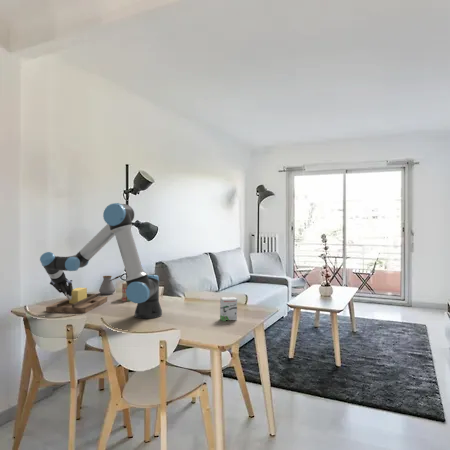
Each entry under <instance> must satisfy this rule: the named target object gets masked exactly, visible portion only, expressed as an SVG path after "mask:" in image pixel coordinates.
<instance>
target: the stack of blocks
mask: <svg viewBox="0 0 450 450" xmlns="http://www.w3.org/2000/svg"><path fill="white" fill-rule="evenodd" d="M121 285H122V288H121V291H122V294H121V295H122V298H121V301H122V302H131V301H130V300H129V299H128V297H127V295H126V289H127V284H126V281H124V282H122V284H121Z"/></svg>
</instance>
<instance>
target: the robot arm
mask: <svg viewBox="0 0 450 450" xmlns="http://www.w3.org/2000/svg"><path fill="white" fill-rule="evenodd" d="M102 217H103V220H104V222H105V223H106V225H105V226H104V227H102V229H101V230H100V231H98V232H97V233H96V234H95V236H93V237H92V239H90V240H89V241H88V243H86V244H85V245H84V246H83V247H82V248H81V249H80V250H79V251H78V252H77V253H76V254H74V255H70V256H58V255H57V256H56V255H55V254H54V252H51V251H45V252H44V253H43V254H41V255H40V257H39V262H40V263H41V266H42V267H43V268H44V270H45V272H46V273H47V275H48V277H49V278H50V282H49V285H51V286H53V288H55V290H57V292H59V293H61V294H63V295H64V296H65V297H66V299H67V298H68V300H71V299H72V290H73V289H74V288H73V280H72V279H71V280H69V279H68V278H66V274H65V272H75V271H76V272H77V271H78V270H79V269H80V268H84V267H86V266H87V265H88V264H89V262H90V261H91V259H92V258H94V256H95V255H96V254H97V253H98V252H100V250H101V249H103V248H104V247H105V246H106V245H107V244H108V243H109V242H110V241H111V240H113V238H115V239H116V243H117V246H118V249H119V252H120V257H121V259H122V263H123V265H124V266H123V267H124V269H125V272H126V273H125V274H126V276H127V278H126V279H125V282H126V284H127V289H126V295H127V297H128V299H129V300H130V301H129V302H131V303H134V304H136V307H135V310H134V317H135V318H137V319H155V318H159V317H161V316H162V315H163V310H162V307H161V305H160V300H159V299H160V277H159V275H157V274H147V273H146V272H145V271H144V268H143V266H142V263H141V260H140V255H139V253H138V249H137V246H136V242H135V239H134V236H133V233H132V227H133V220H134V219H135V210H134V209H133V208H132V206H130V205H128V204H126V203H119V202H115V203H110V204H109V205H107V206H106V207H105V208H104V210H103V215H102Z"/></svg>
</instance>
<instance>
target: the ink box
mask: <svg viewBox="0 0 450 450" xmlns="http://www.w3.org/2000/svg"><path fill="white" fill-rule="evenodd" d="M219 306H220V309H219V319H220V321H222V322H227V321H226V320H235V321H238V298H237V297H234V296H229V297H227V296H226V297H223V296H222V297H220V305H219Z"/></svg>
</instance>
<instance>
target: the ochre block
mask: <svg viewBox="0 0 450 450" xmlns="http://www.w3.org/2000/svg"><path fill="white" fill-rule="evenodd" d="M87 294H88V288H87V287H76V288H73V290H72V299H71V300H69V303H70V304H74V303H76V302H78V301H81V300H83V299H85V298H87Z"/></svg>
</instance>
